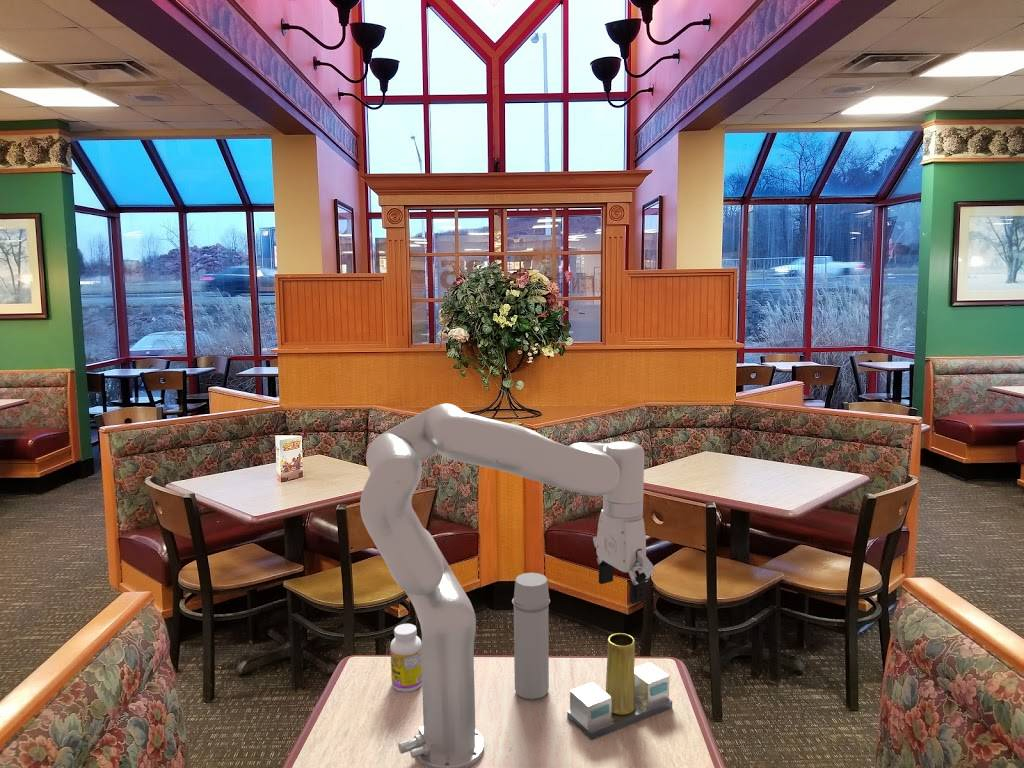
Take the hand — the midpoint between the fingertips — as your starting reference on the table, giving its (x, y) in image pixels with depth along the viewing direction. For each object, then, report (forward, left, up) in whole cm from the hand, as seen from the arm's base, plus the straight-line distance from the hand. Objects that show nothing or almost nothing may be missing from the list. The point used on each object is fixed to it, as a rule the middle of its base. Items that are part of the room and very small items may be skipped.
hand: (621, 591), depth 142 cm
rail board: (0, 0, -26) cm, 26 cm away
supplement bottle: (-33, +31, -26) cm, 52 cm away
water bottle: (-11, +16, -26) cm, 32 cm away
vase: (0, 0, -24) cm, 24 cm away
